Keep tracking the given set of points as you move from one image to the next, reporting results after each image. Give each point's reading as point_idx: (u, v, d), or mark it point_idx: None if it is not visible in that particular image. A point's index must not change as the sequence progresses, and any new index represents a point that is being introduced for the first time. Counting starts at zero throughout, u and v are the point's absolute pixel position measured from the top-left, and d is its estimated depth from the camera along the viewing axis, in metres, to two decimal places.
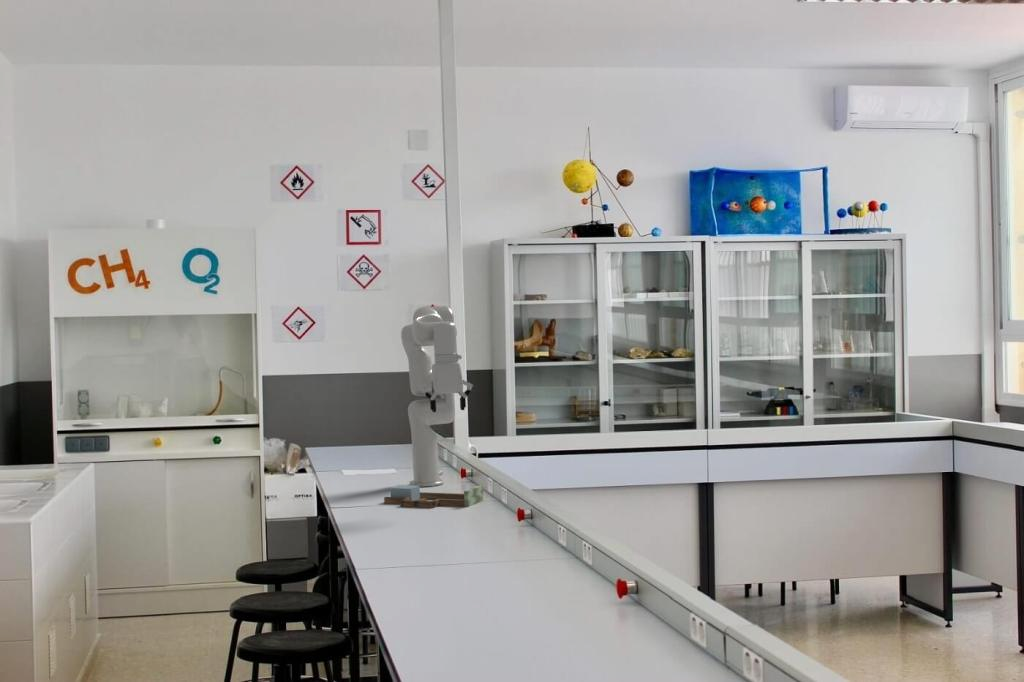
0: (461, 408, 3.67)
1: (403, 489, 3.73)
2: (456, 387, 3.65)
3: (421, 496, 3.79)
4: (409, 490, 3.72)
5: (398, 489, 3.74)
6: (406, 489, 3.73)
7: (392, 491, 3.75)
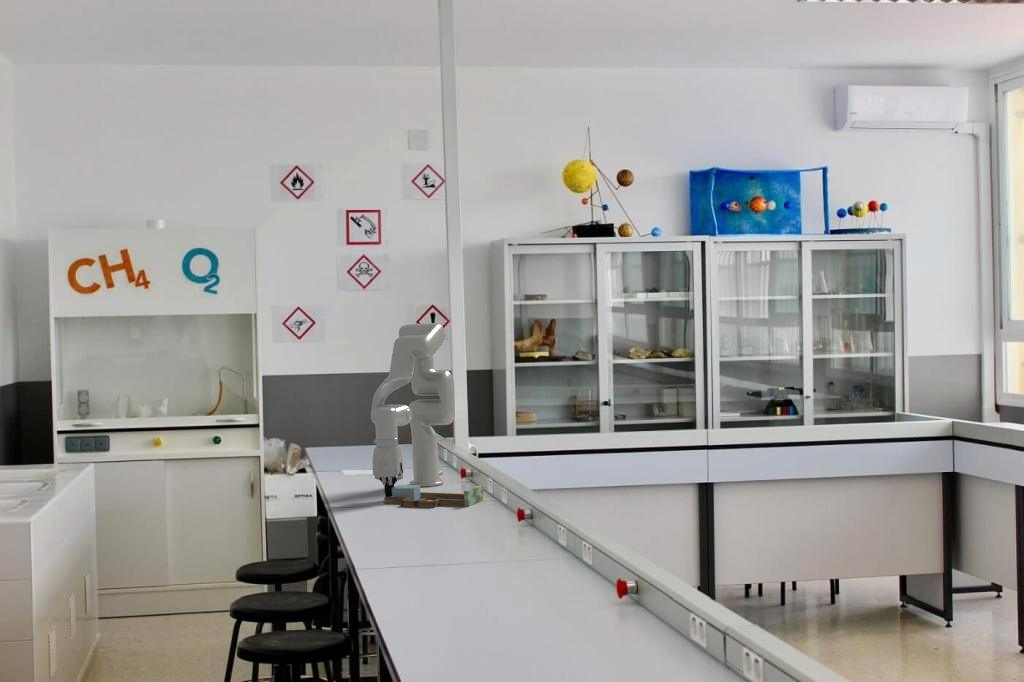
0: None
1: (406, 489, 3.73)
2: None
3: (421, 496, 3.79)
4: (412, 490, 3.73)
5: (400, 489, 3.74)
6: (409, 489, 3.73)
7: (394, 491, 3.74)
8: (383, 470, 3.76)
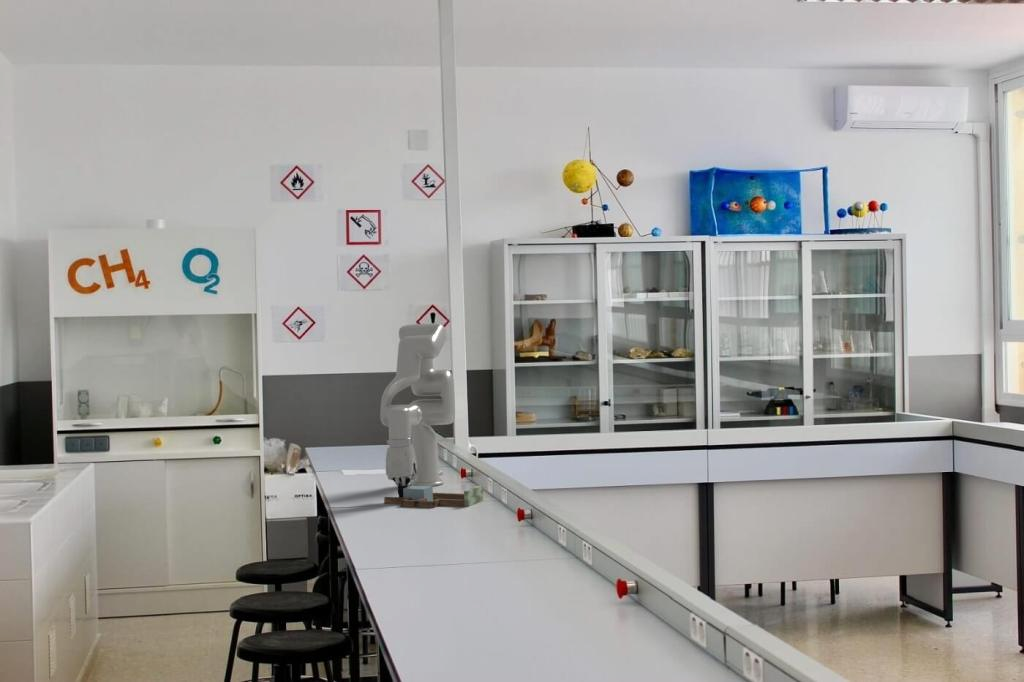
0: None
1: (416, 490, 3.70)
2: None
3: None
4: (422, 491, 3.69)
5: (411, 490, 3.71)
6: (419, 490, 3.70)
7: (405, 492, 3.72)
8: (396, 470, 3.74)
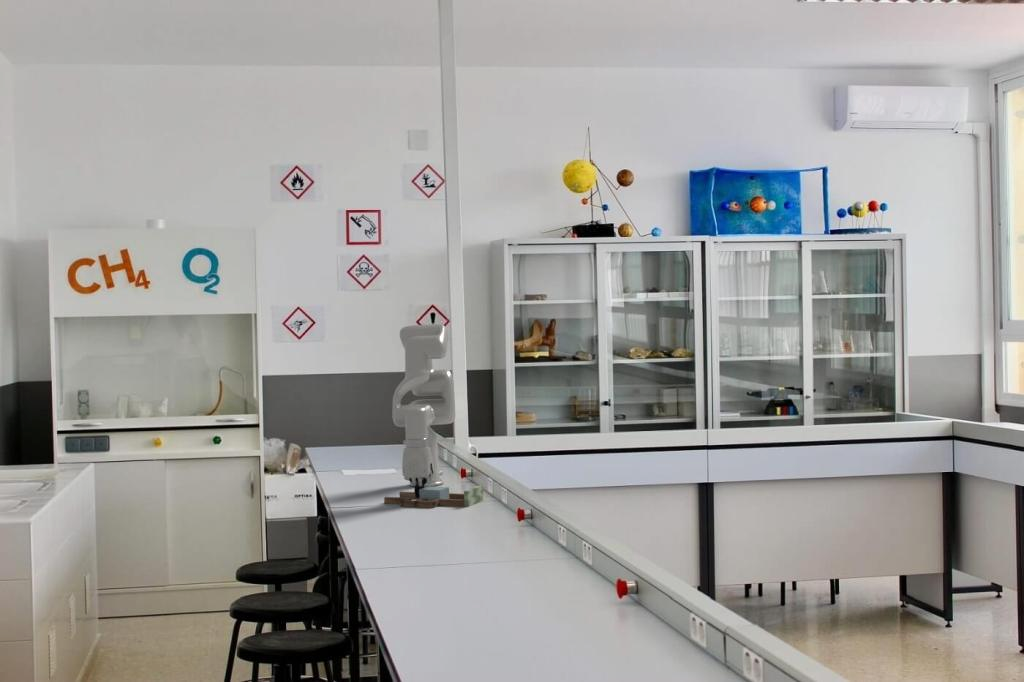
0: None
1: (432, 491, 3.67)
2: None
3: None
4: (438, 492, 3.66)
5: (427, 490, 3.68)
6: (435, 491, 3.67)
7: (421, 492, 3.69)
8: (413, 471, 3.72)
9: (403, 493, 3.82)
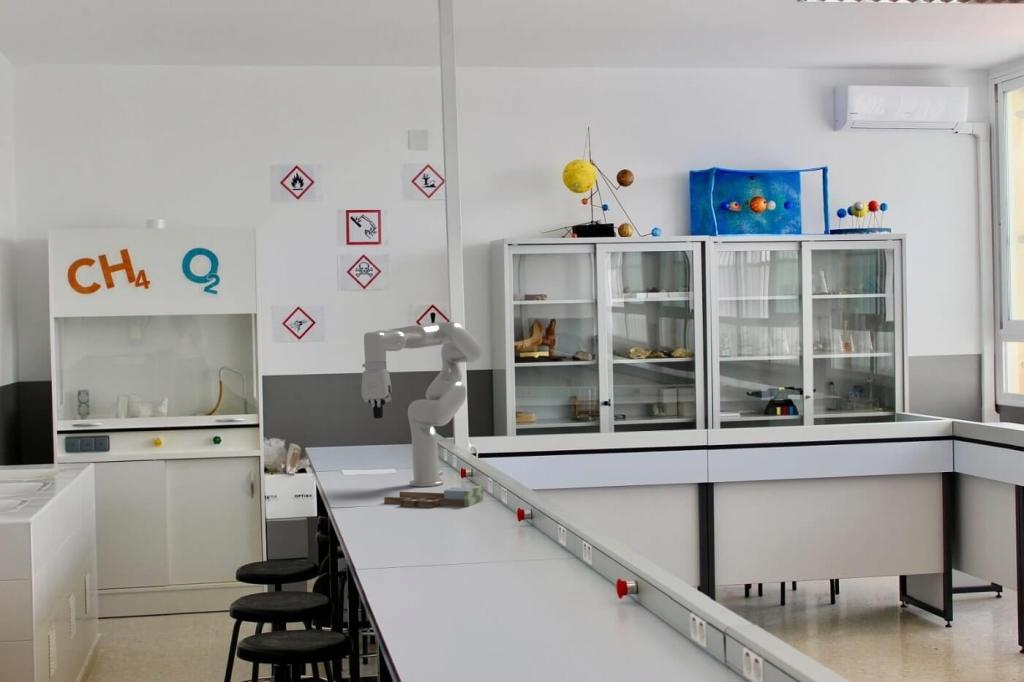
0: None
1: (458, 492, 3.63)
2: None
3: (421, 496, 3.79)
4: None
5: (452, 492, 3.64)
6: (461, 492, 3.63)
7: (446, 494, 3.65)
8: (372, 392, 3.90)
9: (403, 493, 3.82)
